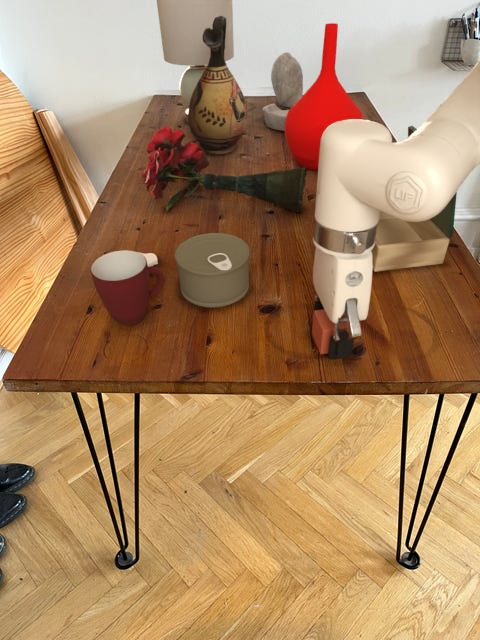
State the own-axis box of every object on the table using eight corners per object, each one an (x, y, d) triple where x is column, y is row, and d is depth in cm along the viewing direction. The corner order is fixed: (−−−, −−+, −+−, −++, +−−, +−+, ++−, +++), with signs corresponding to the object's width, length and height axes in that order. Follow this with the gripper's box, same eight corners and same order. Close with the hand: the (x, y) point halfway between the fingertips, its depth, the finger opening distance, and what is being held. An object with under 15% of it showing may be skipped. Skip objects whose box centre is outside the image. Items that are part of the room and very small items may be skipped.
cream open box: (374, 271, 83) (378, 248, 80) (343, 225, 96) (346, 203, 92) (443, 263, 84) (449, 239, 81) (403, 218, 97) (408, 196, 94)
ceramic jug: (243, 160, 122) (239, 24, 103) (184, 158, 125) (170, 24, 105) (253, 136, 135) (251, 11, 116) (199, 135, 137) (189, 11, 118)
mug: (149, 289, 81) (139, 237, 75) (179, 309, 77) (171, 256, 70) (95, 318, 76) (79, 265, 69) (124, 342, 71) (110, 288, 65)
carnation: (299, 238, 107) (148, 221, 111) (310, 161, 109) (162, 147, 113) (300, 212, 91) (125, 193, 95) (313, 123, 94) (142, 108, 98)
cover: (454, 163, 72) (489, 153, 72) (407, 126, 85) (437, 118, 85) (448, 238, 81) (479, 229, 81) (406, 195, 94) (433, 187, 93)
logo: (128, 254, 89) (112, 279, 83) (127, 251, 89) (111, 276, 83) (161, 257, 88) (147, 282, 82) (161, 253, 88) (146, 279, 82)
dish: (257, 122, 144) (256, 105, 141) (297, 114, 148) (298, 97, 145) (280, 137, 134) (280, 119, 131) (322, 128, 138) (324, 110, 135)
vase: (268, 163, 120) (269, 25, 101) (317, 144, 129) (327, 14, 110) (323, 186, 109) (336, 36, 90) (373, 163, 118) (395, 22, 99)
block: (340, 330, 72) (344, 306, 69) (350, 350, 68) (354, 326, 66) (311, 333, 71) (313, 310, 68) (320, 354, 68) (322, 331, 65)
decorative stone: (299, 112, 150) (302, 59, 140) (267, 111, 152) (267, 58, 142) (305, 98, 161) (307, 47, 152) (274, 97, 163) (275, 47, 153)
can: (230, 259, 87) (228, 226, 83) (263, 293, 79) (263, 258, 75) (168, 279, 83) (163, 244, 79) (197, 317, 75) (192, 281, 71)
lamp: (236, 129, 140) (230, -18, 117) (167, 131, 140) (148, -15, 118) (237, 108, 155) (232, -26, 132) (175, 110, 156) (159, -23, 133)
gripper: (404, 266, 52) (378, 379, 63) (350, 195, 65) (337, 299, 76) (337, 274, 51) (323, 386, 63) (296, 201, 64) (291, 305, 76)
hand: (331, 338), depth 69 cm, fingers open, 6 cm apart
